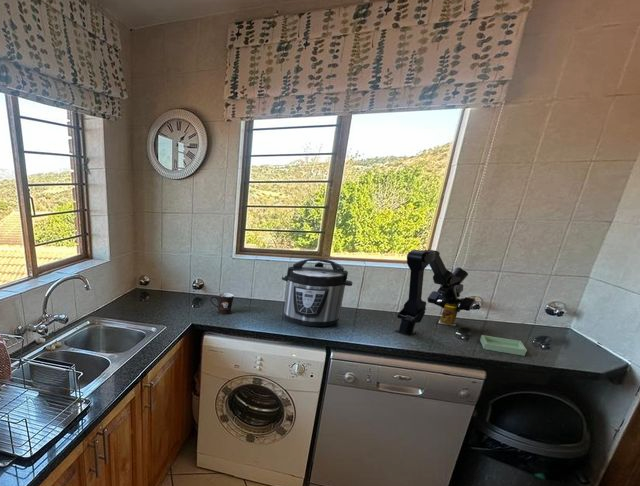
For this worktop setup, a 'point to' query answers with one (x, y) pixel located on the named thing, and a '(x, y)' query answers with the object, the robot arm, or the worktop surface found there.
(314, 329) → the worktop surface
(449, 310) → the condiment
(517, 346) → the tray
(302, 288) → the pressure cooker
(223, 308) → the coffee mug
